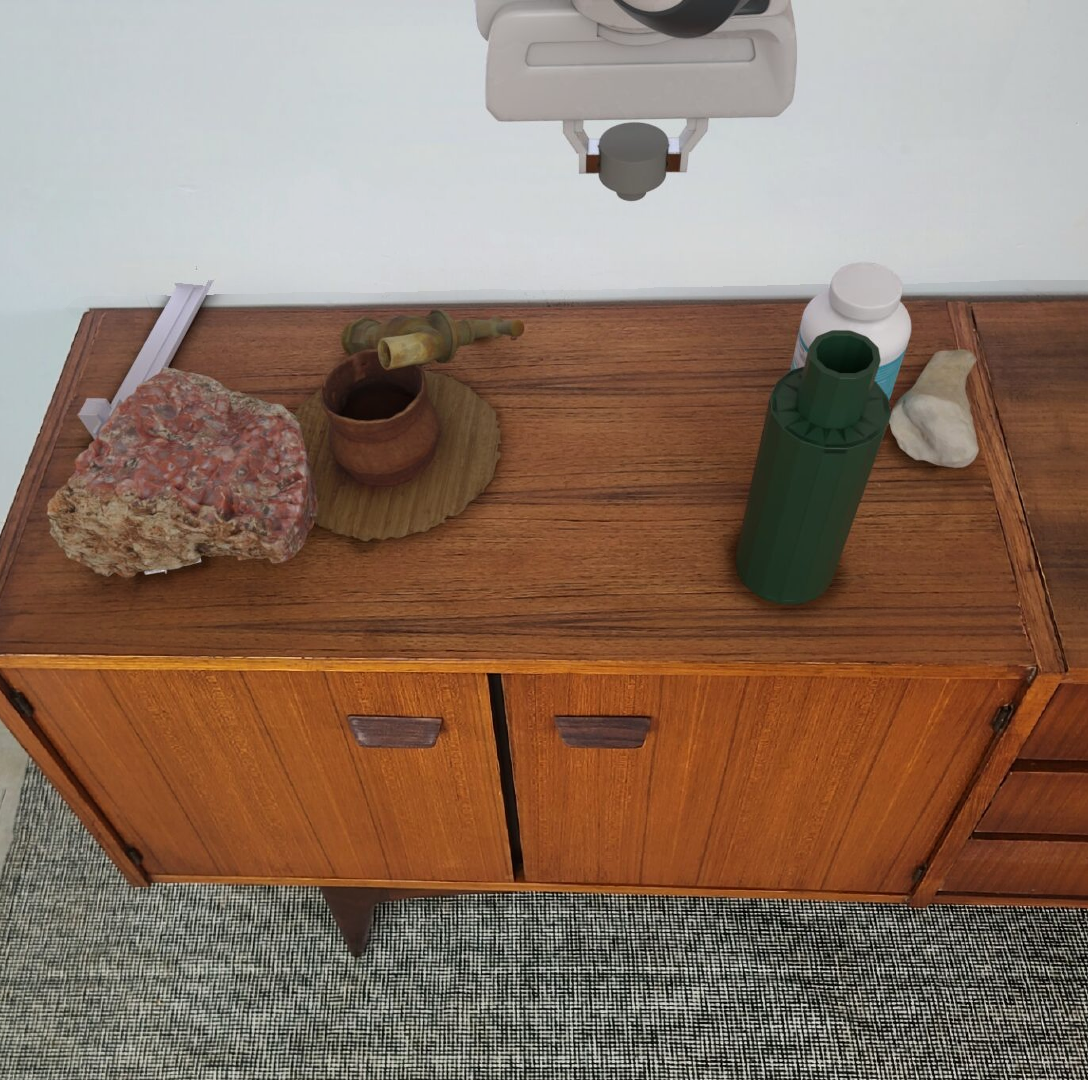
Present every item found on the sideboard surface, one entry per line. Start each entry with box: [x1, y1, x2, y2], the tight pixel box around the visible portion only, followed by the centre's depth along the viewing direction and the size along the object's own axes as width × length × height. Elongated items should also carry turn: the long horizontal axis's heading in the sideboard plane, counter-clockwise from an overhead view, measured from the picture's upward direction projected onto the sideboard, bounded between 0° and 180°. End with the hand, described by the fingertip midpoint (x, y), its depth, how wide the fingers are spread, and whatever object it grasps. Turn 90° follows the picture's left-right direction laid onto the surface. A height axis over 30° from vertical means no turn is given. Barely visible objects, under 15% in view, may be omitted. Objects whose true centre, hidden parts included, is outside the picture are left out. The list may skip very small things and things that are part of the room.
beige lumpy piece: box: [888, 348, 980, 469], centre depth 81 cm, size 11×6×5 cm, turn 167°
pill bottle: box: [789, 261, 912, 400], centre depth 77 cm, size 8×7×14 cm
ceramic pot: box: [294, 349, 502, 542], centre depth 81 cm, size 18×18×7 cm
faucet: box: [340, 308, 525, 370], centre depth 85 cm, size 15×4×15 cm
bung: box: [597, 121, 669, 202], centre depth 76 cm, size 5×5×4 cm
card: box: [143, 557, 202, 576], centre depth 80 cm, size 9×3×1 cm, turn 111°
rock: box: [46, 366, 318, 579], centre depth 77 cm, size 17×10×15 cm
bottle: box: [735, 330, 892, 606], centre depth 68 cm, size 7×7×20 cm
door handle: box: [77, 266, 215, 441], centre depth 90 cm, size 21×3×3 cm
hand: (633, 168), depth 76 cm, fingers closed on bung, 5 cm apart
